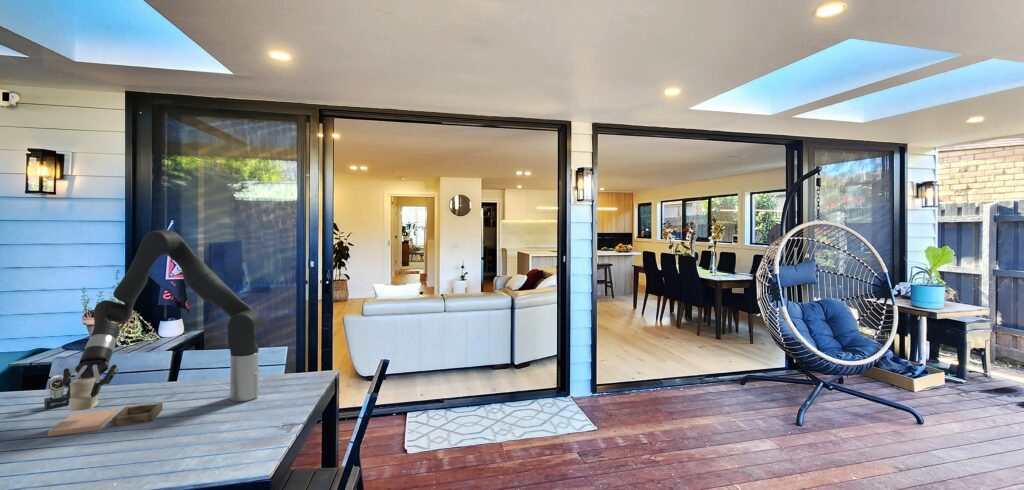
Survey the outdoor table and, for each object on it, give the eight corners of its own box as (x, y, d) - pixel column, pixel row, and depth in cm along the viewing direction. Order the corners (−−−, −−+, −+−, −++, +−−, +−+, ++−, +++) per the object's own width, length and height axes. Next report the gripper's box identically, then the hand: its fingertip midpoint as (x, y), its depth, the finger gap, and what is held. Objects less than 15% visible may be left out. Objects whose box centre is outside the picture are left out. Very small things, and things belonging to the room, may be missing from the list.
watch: (47, 411, 151) (47, 380, 151) (43, 406, 156) (43, 375, 156) (70, 406, 156) (70, 376, 156) (65, 401, 161) (65, 371, 160)
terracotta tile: (117, 413, 151) (117, 408, 151) (98, 429, 138) (98, 425, 138) (71, 418, 146) (71, 414, 146) (48, 436, 134) (48, 431, 134)
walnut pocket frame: (162, 409, 155) (162, 402, 155) (152, 421, 145) (152, 413, 145) (125, 413, 151) (125, 406, 151) (112, 426, 141) (112, 418, 141)
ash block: (97, 403, 146) (97, 376, 145) (90, 409, 141) (90, 381, 141) (78, 405, 144) (78, 378, 143) (70, 411, 139) (70, 383, 139)
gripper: (67, 346, 146) (46, 394, 135) (122, 343, 152) (106, 389, 141) (75, 357, 151) (56, 405, 140) (128, 354, 157) (113, 399, 146)
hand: (81, 396), depth 141 cm, fingers closed on ash block, 5 cm apart
